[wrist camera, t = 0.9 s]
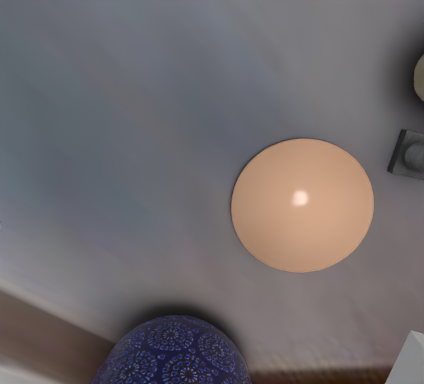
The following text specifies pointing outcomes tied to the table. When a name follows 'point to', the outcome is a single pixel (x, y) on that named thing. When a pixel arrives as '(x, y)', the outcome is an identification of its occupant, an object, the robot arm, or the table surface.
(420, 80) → the flower pot
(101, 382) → the planter
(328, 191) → the saucer
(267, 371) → the table surface
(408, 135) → the post
